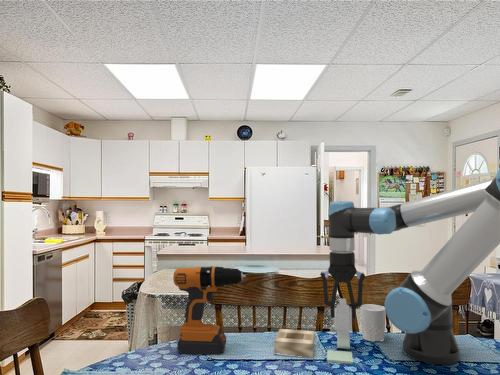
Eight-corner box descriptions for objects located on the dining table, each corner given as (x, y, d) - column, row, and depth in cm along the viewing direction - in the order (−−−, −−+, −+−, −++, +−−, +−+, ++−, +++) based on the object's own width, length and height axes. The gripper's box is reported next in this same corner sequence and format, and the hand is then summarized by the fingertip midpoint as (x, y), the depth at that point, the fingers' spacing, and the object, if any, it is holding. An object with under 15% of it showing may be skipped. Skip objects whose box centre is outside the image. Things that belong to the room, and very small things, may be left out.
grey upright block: (349, 343, 118) (348, 298, 118) (350, 350, 112) (349, 303, 113) (337, 342, 118) (336, 298, 119) (337, 349, 113) (336, 302, 114)
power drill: (246, 346, 117) (246, 264, 118) (244, 355, 110) (245, 268, 111) (177, 344, 118) (177, 263, 119) (171, 354, 111) (171, 267, 112)
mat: (351, 354, 111) (351, 352, 111) (353, 364, 104) (353, 361, 104) (327, 352, 112) (327, 350, 112) (326, 361, 106) (326, 359, 106)
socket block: (314, 344, 119) (314, 331, 119) (312, 358, 108) (312, 344, 108) (279, 341, 121) (279, 328, 121) (274, 354, 110) (274, 340, 110)
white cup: (365, 332, 130) (365, 302, 130) (389, 337, 125) (388, 306, 125) (357, 339, 123) (356, 308, 124) (381, 344, 119) (381, 312, 119)
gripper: (369, 250, 118) (370, 326, 117) (315, 249, 122) (315, 323, 121) (371, 253, 111) (373, 335, 110) (313, 252, 115) (314, 331, 114)
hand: (343, 328), depth 115 cm, fingers closed on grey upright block, 4 cm apart
